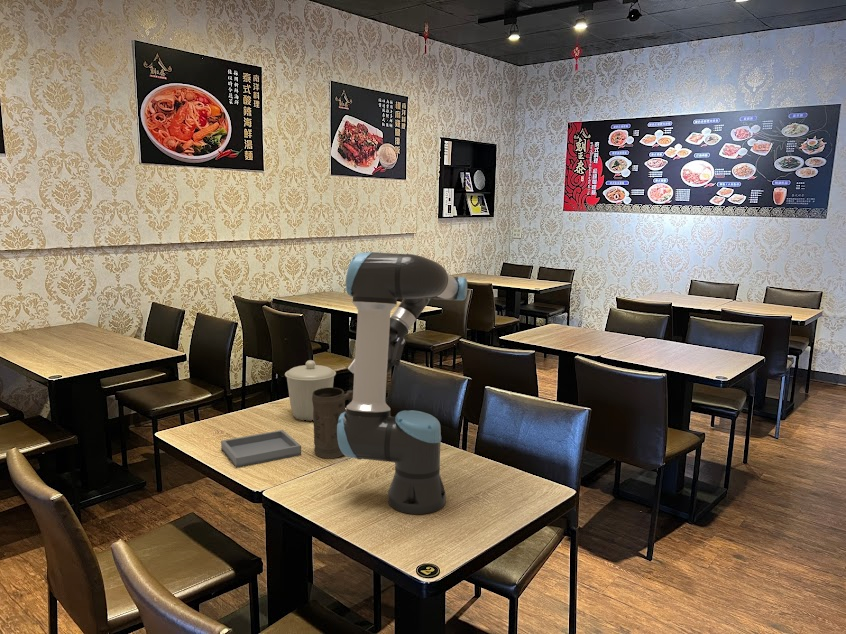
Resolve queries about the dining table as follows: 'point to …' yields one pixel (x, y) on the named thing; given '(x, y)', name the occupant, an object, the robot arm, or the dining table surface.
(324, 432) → the beer stein
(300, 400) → the canister
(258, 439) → the tray
